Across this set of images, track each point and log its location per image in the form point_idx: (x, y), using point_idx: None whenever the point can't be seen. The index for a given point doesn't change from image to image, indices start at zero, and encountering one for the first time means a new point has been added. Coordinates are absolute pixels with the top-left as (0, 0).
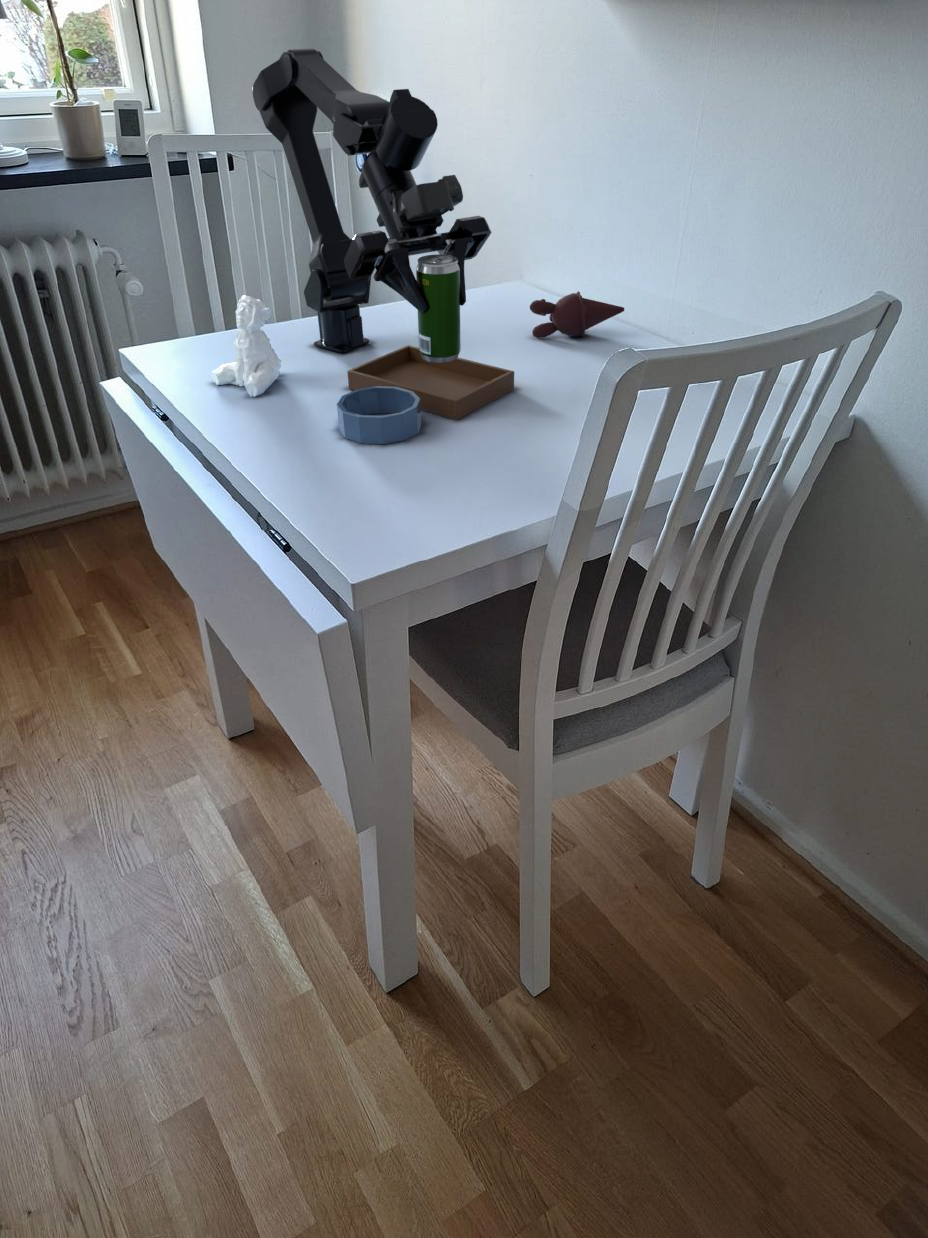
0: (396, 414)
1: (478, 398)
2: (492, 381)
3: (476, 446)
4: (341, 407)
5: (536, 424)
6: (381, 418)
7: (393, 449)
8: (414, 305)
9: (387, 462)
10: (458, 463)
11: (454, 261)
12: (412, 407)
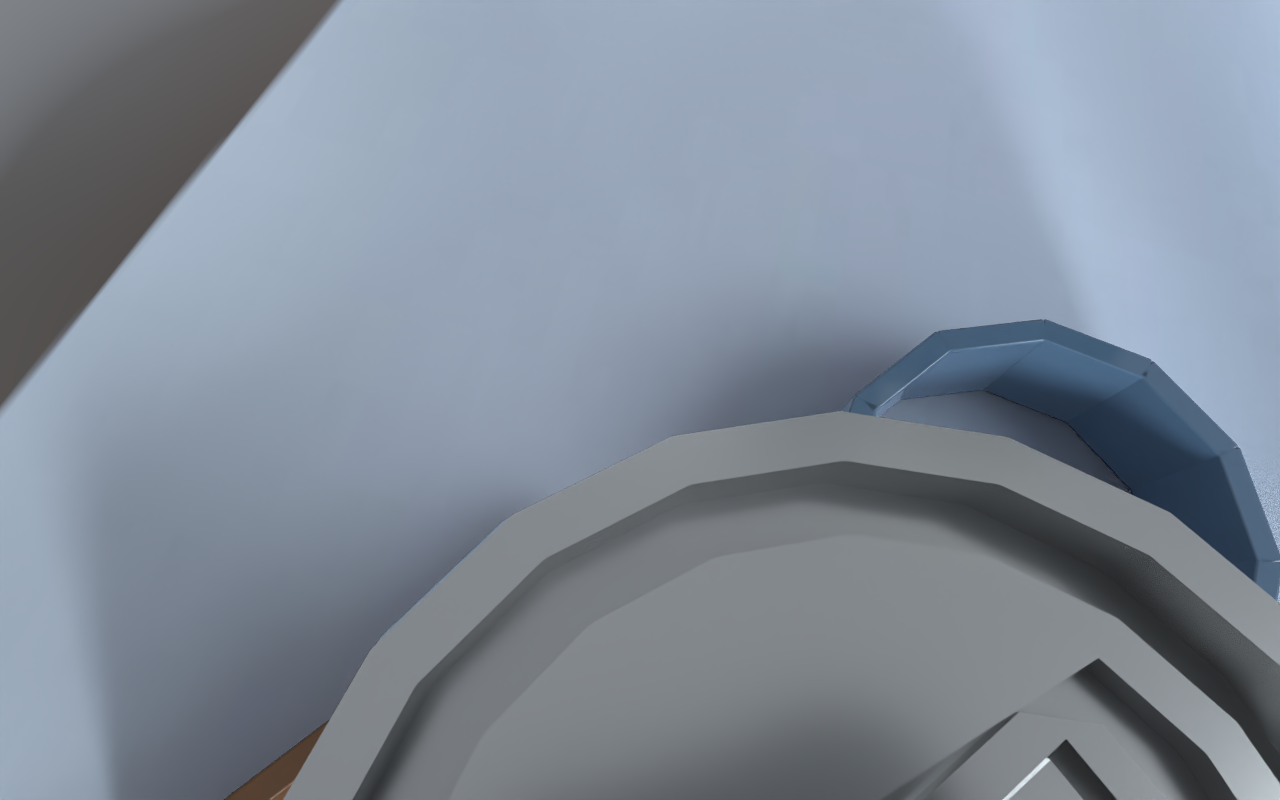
0: (966, 334)
1: None
2: (290, 762)
3: (593, 241)
4: (1251, 505)
5: (245, 371)
6: (1040, 320)
7: (940, 314)
8: None
9: (972, 213)
10: (703, 129)
11: (433, 642)
12: (877, 394)
